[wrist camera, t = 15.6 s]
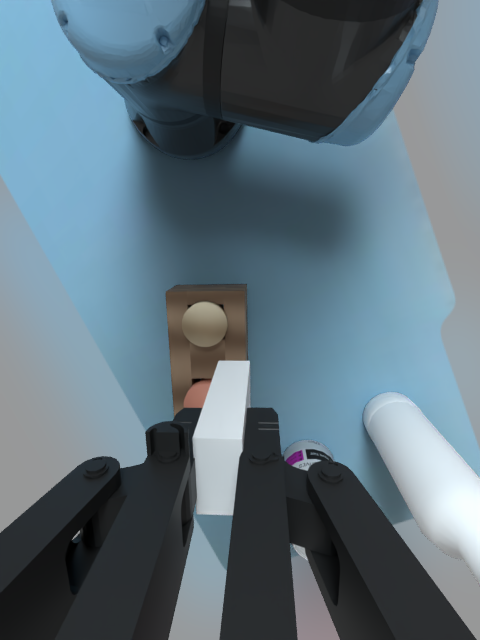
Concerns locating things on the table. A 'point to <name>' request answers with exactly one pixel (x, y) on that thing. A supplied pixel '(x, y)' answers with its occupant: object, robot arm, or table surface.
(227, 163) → the table surface
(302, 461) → the supplement can
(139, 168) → the table surface
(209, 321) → the maple plug
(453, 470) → the bottle
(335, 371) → the table surface
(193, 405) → the brick-red plug
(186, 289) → the socket board
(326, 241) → the table surface
